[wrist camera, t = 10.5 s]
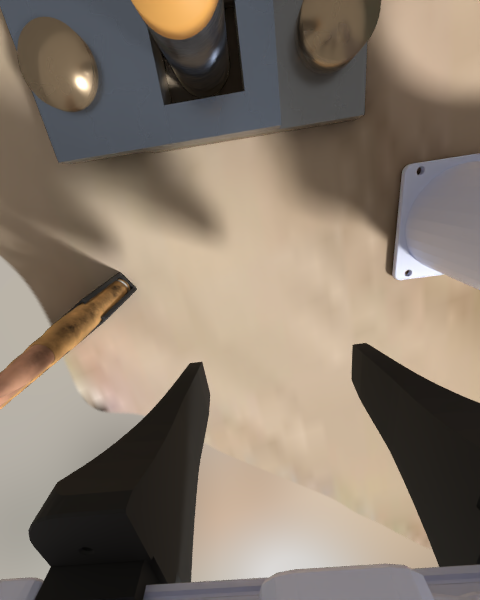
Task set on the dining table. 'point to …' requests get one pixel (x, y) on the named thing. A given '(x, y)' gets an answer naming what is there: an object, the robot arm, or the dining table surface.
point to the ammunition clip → (64, 336)
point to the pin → (190, 40)
